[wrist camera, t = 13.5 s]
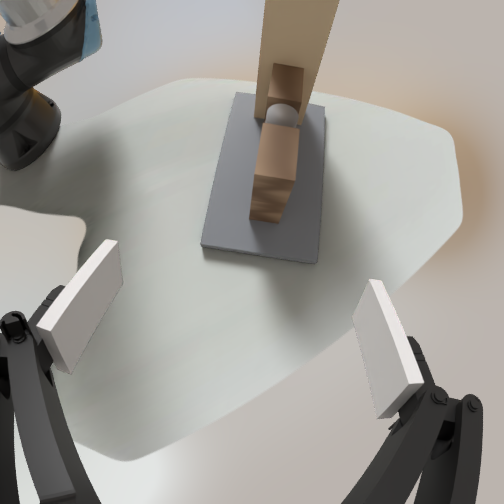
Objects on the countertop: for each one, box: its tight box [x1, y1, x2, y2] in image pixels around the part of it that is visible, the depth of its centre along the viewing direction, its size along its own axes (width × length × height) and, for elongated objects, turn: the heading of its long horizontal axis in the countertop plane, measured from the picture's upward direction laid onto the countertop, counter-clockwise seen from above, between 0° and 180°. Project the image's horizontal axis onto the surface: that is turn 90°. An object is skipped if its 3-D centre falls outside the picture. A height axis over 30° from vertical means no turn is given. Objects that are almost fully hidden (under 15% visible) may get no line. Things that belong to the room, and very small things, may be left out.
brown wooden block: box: [249, 104, 300, 224], centre depth 32 cm, size 4×9×11 cm, turn 172°
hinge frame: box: [200, 0, 339, 264], centre depth 27 cm, size 14×25×25 cm, turn 172°
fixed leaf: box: [264, 63, 304, 123], centre depth 33 cm, size 4×10×11 cm, turn 172°
